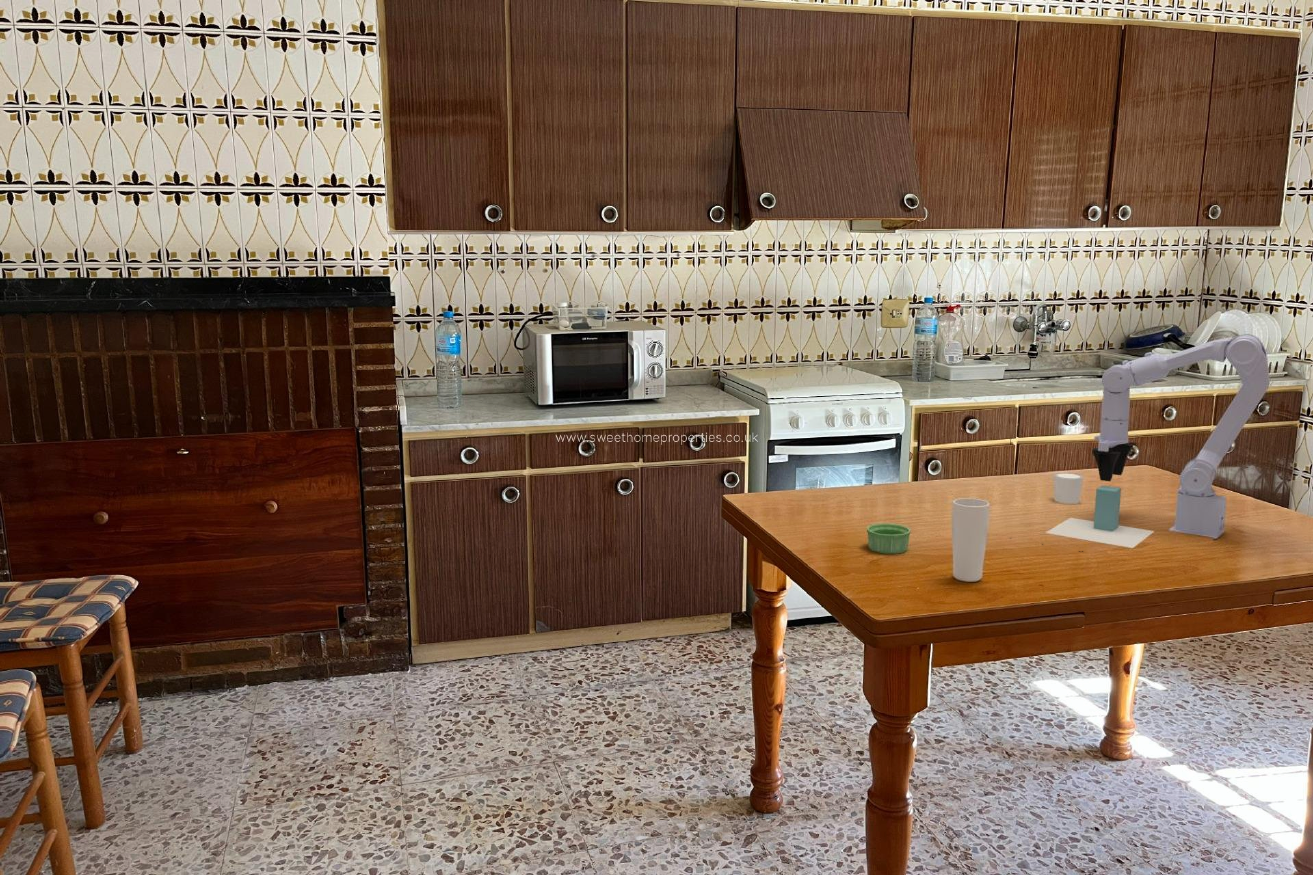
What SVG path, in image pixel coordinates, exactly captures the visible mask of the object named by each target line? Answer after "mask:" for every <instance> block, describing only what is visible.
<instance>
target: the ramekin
mask: <svg viewBox="0 0 1313 875" xmlns="http://www.w3.org/2000/svg"><path fill="white" fill-rule="evenodd" d="M911 531H912V530H911V529H910V528H909V527H908V526H905V525H902V524H897V523H875V524H870V525H867V527H866V533H867V544H868V548H869V550H870V551H873V552H875V553H878V552H879V554H885V555H886V554H887V555H890V554H891V555H894V554H895V555H897V554H902V553H905V552H907V550H908V549H909V540H910V535H911Z"/></svg>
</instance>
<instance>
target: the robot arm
mask: <svg viewBox="0 0 1313 875" xmlns="http://www.w3.org/2000/svg"><path fill="white" fill-rule="evenodd" d="M1208 360H1210V361H1216V362H1221V363H1224V362H1225V361H1226V360H1227V361H1228V362H1229V364H1230V365H1232V367H1233V368H1234V369H1235V370H1236V372H1237V374H1238V376H1239V379H1240V382H1241V384H1242V385H1241V386H1240V388H1239V389H1238V391H1237V393H1236V394H1235V396H1234V397H1233V400H1231V403H1230V404H1229V406H1228V407H1227V409H1226V410H1225V412H1224V414H1223V415H1222V416H1221V418H1220V419H1219V421H1218V423H1217V424H1216V426H1215V428H1214V429H1213V430H1212V432H1211V434H1210V436H1209V437H1208V439H1207V440H1206V442H1205V443H1204V445H1203V447H1202V448H1201V450H1200V451H1199V453H1198V454H1197V456H1196V457H1195V458H1193V459H1191V460H1190V461H1188V462H1186V464H1185V466H1184V468H1183V469H1182V471H1181V472H1180V475H1179V478H1178V479H1179V484H1180V487H1178V488H1177V494H1176V495H1177V496H1176V506H1175V508H1176V509H1175V516H1174V517H1175V518H1174V520H1175V521H1174V524H1173V526H1171V527H1170V528H1169V529H1168V531H1172V532H1178V533H1183V534H1190V535H1197V536H1203V537H1209V538H1212V539H1213V540H1216V539H1218V538H1219V537H1220V536H1222V534H1223V533H1224V532H1225V525H1226V524H1225V522H1226V515H1227V514H1226V513H1227V512H1226V511H1227V497H1226V496H1223V495H1219V494H1216V490H1215V489H1214V488H1213V486H1212V485H1213V482H1214V481H1215V478H1216V473H1217V469H1218V468H1219V466H1220V464H1221V462H1222V461H1223V458H1224V457H1225V456H1226V455H1227V453H1228V451H1229V449H1230V448H1231V446H1232V445H1233V444H1234V442H1235V441H1236V439H1237V437H1238V436H1239V434H1240V432H1241V431H1242V429H1243V428H1244V427H1245V425H1246V423H1247V421H1248V420H1250V417H1251V415H1252V414H1253V412H1254V411H1255V409H1256V408H1257V406H1258V404H1259V403H1260V402H1261V400H1262V398H1263V397H1264V395H1265V394H1266V392H1267V391H1268V389H1269V387H1270V386H1271V385H1270V383H1271V380H1270V370H1269V361H1268V352H1267V350H1266V348H1265V345H1264V344H1263V342H1262V341H1261V340H1260V338H1259V337H1257V336H1256V335H1254V334H1250V333H1244V334H1239V335H1238V336H1235V337H1234V338H1233V336H1231V337H1230V336H1229V337H1224V338H1219V339H1215V340H1211V341H1207V342H1205V343H1202V344H1198V345H1196V346H1194V347H1193V346H1192V347H1190V348H1186V349H1184V350H1181V351H1178V352H1175V353H1173V354H1169V355H1163V354H1161V353H1160V352H1159V353H1158V352H1156V353H1155V352H1154V353H1152V352H1151V351H1150V352H1146V353H1145V354H1144V356H1142V357H1140V358H1136V359H1133V360H1130V361H1128V359H1126V360H1123V361H1122V362H1121V363H1122V364H1115V365H1113V366H1111V367H1109V368H1108V369H1106V370H1105V371H1104V373H1103V374H1102V377H1101V383H1102V384H1101V385H1102V386H1103V390H1102V394H1103V395H1102V399H1101V400H1102V401H1101V413H1100V427H1099V428H1100V429H1099V430H1100V432H1099V435H1095V436H1094V438H1093V440H1095V441H1098V444H1097V445H1098V446H1097V447H1096V448H1093V449H1092V455H1093V457H1094V459H1095V461H1096V464H1097V469H1098V476H1099V479H1100V481H1102V482H1111V481H1112V479H1113V476H1122V475H1123V472H1124V469H1125V465H1126V462H1127V459H1128V457H1129V455H1130V453H1131V451H1132V450H1133V449H1134V443H1129V425H1130V424H1129V423H1130V408H1131V407H1130V405H1131V404H1130V403H1131V398H1130V393H1131V392H1130V391H1131V386H1133V387H1139V386H1142V385H1145V384H1148V383H1152V382H1156V381H1158V380H1162V379H1165V378H1166V377H1168V375H1169V373H1170V371H1171V370H1174V369H1179V368H1181V367H1185V366H1190V365H1194V364H1197V363H1201V362H1205V361H1208Z"/></svg>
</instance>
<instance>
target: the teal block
mask: <svg viewBox="0 0 1313 875" xmlns="http://www.w3.org/2000/svg"><path fill="white" fill-rule="evenodd" d="M1095 490H1096V492H1095V503H1094V515H1093V516H1094V517H1093V521H1094V529H1100V530H1106V531H1112V532H1113V531H1114V530H1116V529H1117V528H1118V525H1119V520H1120V506H1121V496H1122V488H1121V487H1114V486H1110V485H1109V486H1108V485H1101V486H1099V487H1097V488H1096V489H1095Z"/></svg>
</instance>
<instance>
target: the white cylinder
mask: <svg viewBox="0 0 1313 875" xmlns="http://www.w3.org/2000/svg"><path fill="white" fill-rule="evenodd" d="M1052 478H1053V500H1054V502H1056V503H1060V504H1063V505H1065V504H1066V505H1075V504H1079V503H1080V500H1081V496H1082V489H1083V483H1084V478H1085V477H1084V476H1083V475H1081V474H1077V473H1071V472H1069V473H1068V472H1058V473H1054V474H1053V477H1052Z"/></svg>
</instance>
